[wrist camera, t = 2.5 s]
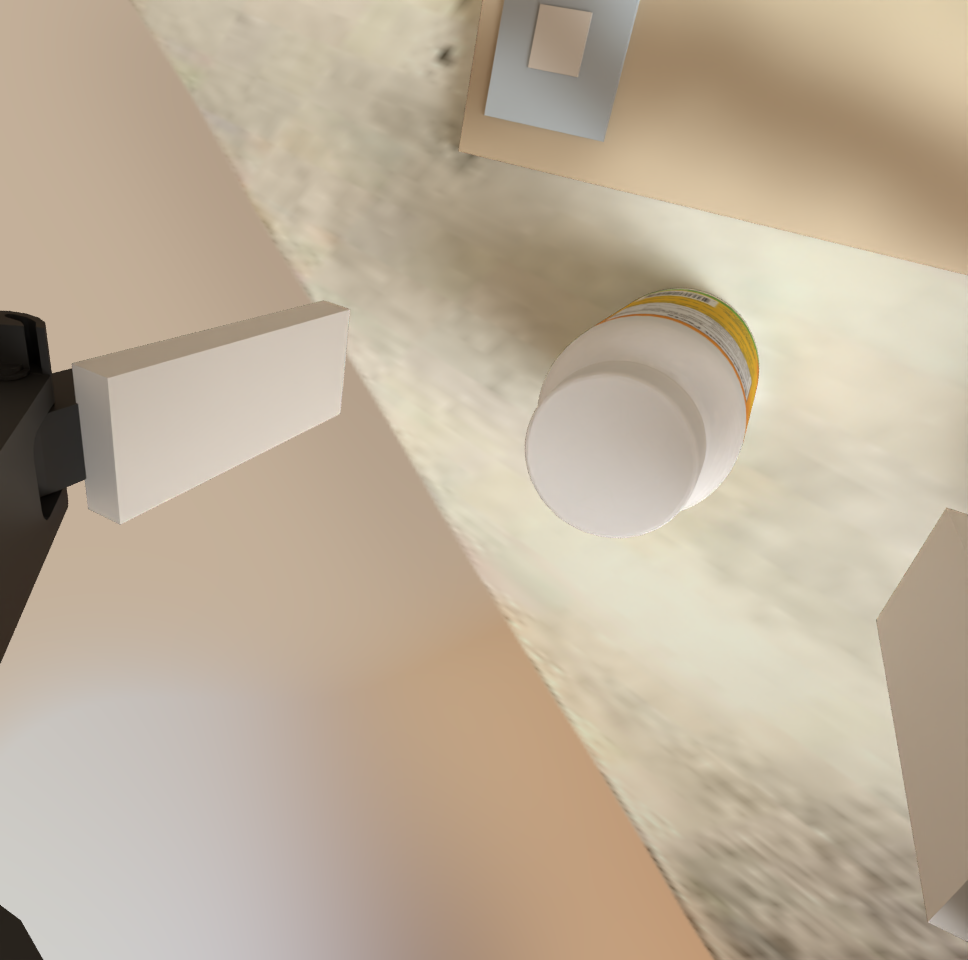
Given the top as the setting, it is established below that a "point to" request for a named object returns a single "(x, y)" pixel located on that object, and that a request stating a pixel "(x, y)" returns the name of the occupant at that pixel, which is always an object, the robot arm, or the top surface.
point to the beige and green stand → (742, 110)
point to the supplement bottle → (643, 413)
